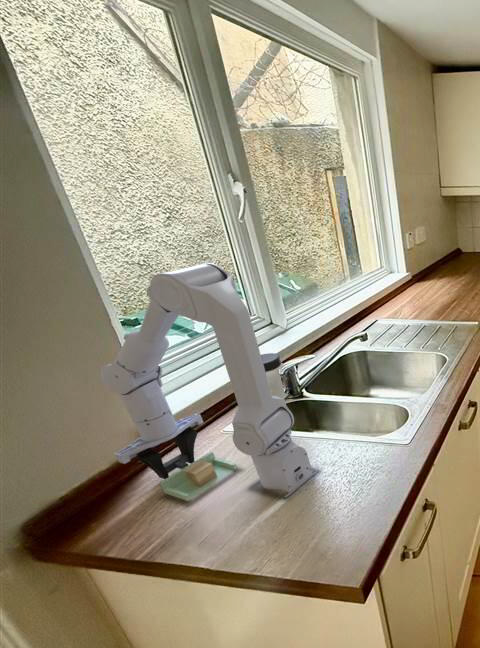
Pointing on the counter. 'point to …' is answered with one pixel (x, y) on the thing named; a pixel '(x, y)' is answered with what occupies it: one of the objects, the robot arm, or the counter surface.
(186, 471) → the block
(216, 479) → the tray
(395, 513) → the counter surface
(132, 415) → the robot arm
